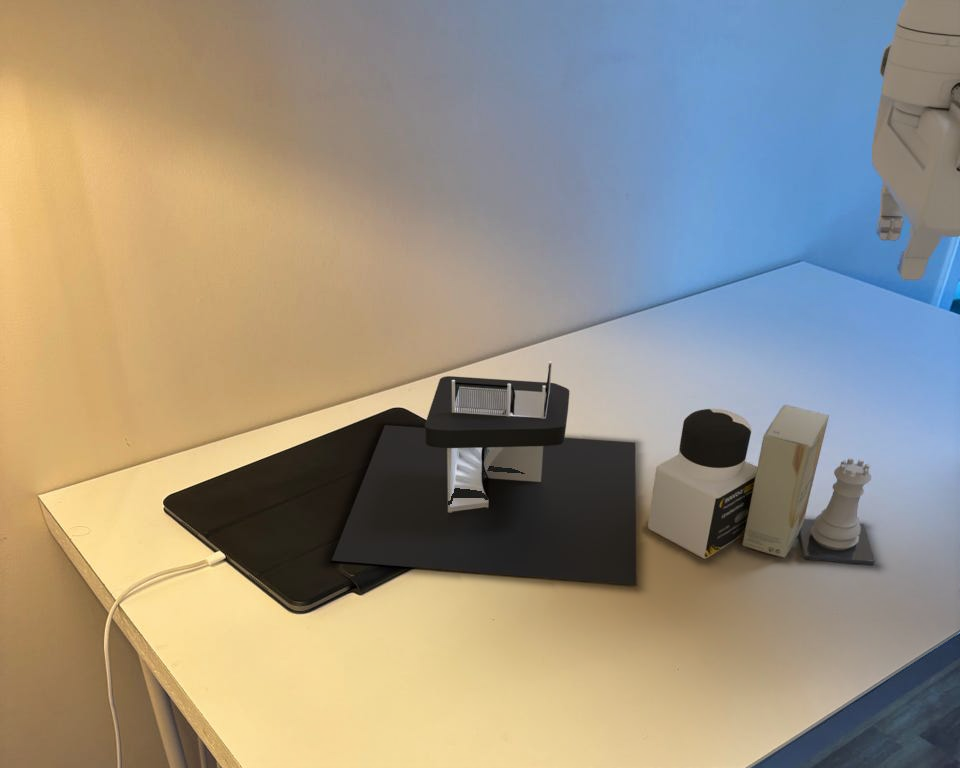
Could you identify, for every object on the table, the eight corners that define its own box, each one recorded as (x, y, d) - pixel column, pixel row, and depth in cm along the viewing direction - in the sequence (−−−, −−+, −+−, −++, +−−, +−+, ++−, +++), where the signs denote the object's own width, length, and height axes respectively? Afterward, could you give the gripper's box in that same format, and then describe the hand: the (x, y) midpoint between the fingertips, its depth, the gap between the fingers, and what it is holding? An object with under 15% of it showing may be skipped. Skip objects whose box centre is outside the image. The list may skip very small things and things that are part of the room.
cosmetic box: (785, 560, 92) (811, 448, 84) (740, 547, 94) (761, 436, 85) (804, 523, 96) (831, 412, 88) (761, 511, 98) (783, 401, 89)
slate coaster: (862, 527, 97) (864, 523, 96) (874, 565, 92) (875, 561, 92) (796, 521, 97) (797, 518, 97) (803, 559, 92) (804, 555, 92)
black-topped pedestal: (331, 561, 91) (318, 431, 82) (384, 426, 111) (378, 310, 102) (636, 586, 89) (655, 455, 80) (635, 443, 109) (650, 326, 100)
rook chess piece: (829, 520, 97) (850, 448, 92) (867, 541, 94) (891, 468, 89) (799, 535, 95) (819, 462, 90) (837, 557, 92) (860, 483, 87)
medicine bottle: (704, 561, 92) (727, 446, 84) (645, 529, 96) (662, 417, 88) (749, 532, 96) (775, 420, 88) (691, 502, 100) (710, 393, 92)
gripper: (1032, 104, 66) (966, 305, 75) (957, 47, 82) (910, 220, 91) (935, 101, 67) (881, 301, 76) (879, 45, 82) (840, 217, 91)
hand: (897, 256), depth 83 cm, fingers open, 8 cm apart
